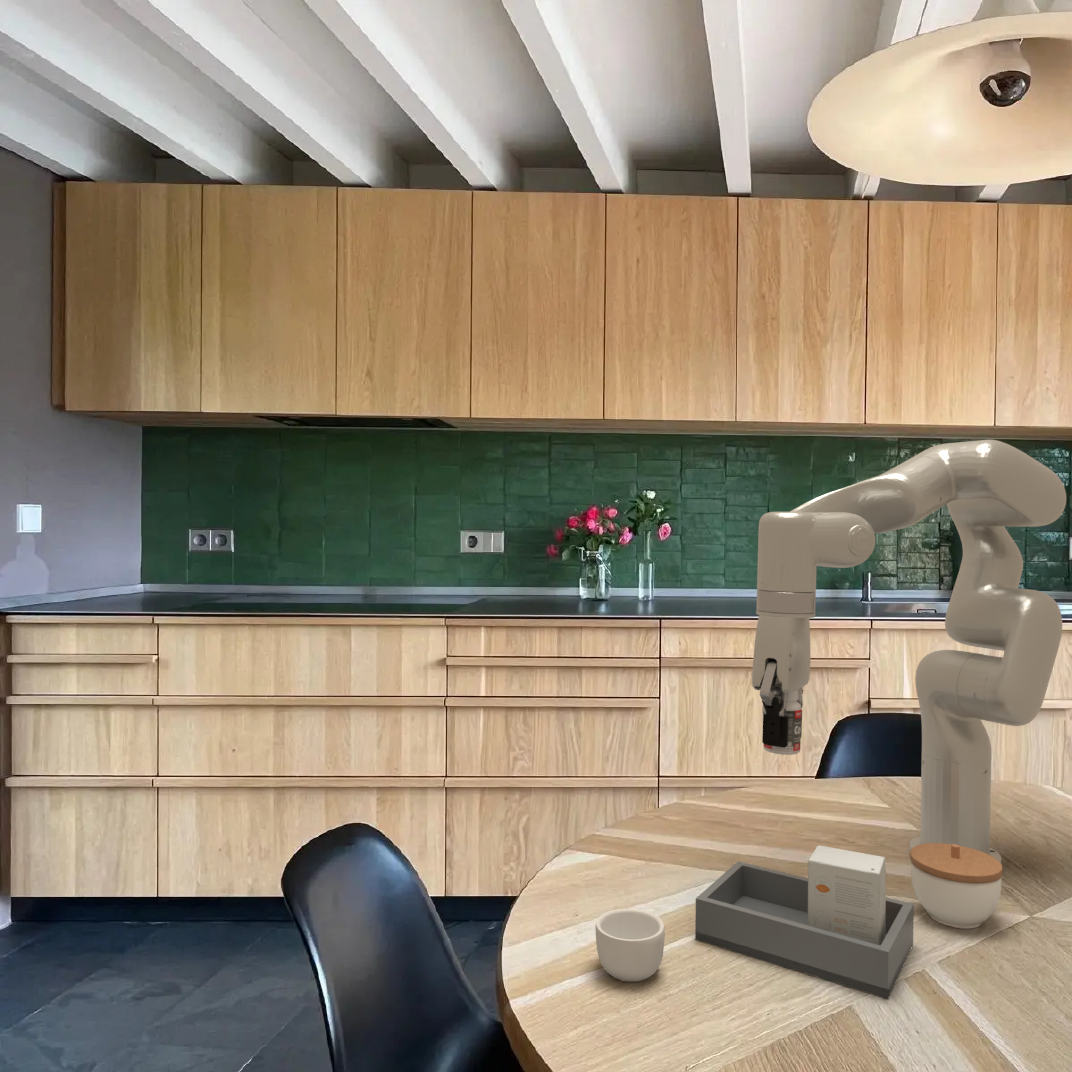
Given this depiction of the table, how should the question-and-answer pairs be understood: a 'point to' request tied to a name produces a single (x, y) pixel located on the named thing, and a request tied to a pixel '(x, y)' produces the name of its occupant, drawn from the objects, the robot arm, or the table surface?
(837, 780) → the table surface
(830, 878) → the small box
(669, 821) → the table surface
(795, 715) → the pill bottle
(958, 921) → the lidded jar
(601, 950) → the teacup
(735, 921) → the tote
